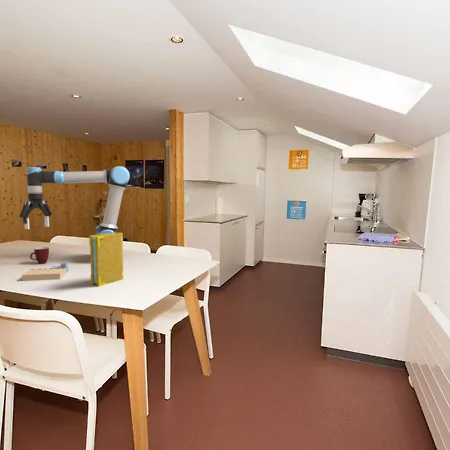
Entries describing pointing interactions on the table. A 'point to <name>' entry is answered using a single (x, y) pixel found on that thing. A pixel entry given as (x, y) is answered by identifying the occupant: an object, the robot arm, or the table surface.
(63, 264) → the stub
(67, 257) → the table surface
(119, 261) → the book
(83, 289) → the table surface
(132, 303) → the table surface
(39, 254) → the mug
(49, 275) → the board
